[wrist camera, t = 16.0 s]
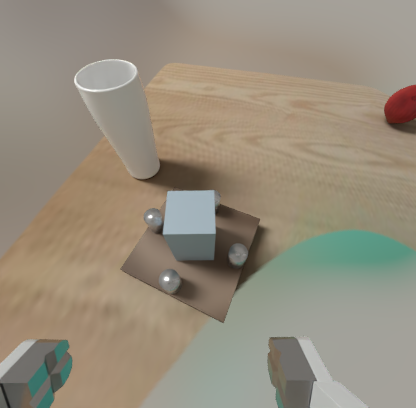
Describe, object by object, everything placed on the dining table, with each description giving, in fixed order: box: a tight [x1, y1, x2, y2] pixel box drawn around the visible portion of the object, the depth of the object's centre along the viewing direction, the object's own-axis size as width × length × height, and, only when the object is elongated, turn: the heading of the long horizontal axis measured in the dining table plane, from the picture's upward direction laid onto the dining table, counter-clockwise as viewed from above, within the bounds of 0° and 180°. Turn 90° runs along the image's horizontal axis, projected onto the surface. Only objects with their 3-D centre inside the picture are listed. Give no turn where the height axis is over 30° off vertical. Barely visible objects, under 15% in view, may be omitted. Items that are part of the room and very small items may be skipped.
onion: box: [384, 85, 416, 123], centre depth 36 cm, size 6×6×8 cm
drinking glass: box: [74, 59, 160, 179], centre depth 28 cm, size 7×7×15 cm
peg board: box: [121, 187, 260, 323], centre depth 25 cm, size 13×13×5 cm
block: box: [163, 190, 216, 261], centre depth 22 cm, size 4×4×8 cm
